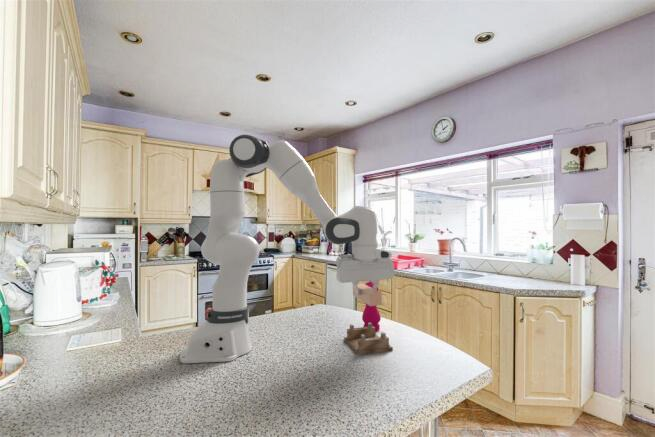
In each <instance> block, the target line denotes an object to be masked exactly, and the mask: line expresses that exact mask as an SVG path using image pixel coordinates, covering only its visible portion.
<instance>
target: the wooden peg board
mask: <svg viewBox="0 0 655 437" xmlns="http://www.w3.org/2000/svg"><path fill="white" fill-rule="evenodd" d="M386 334H387V333H385V332H384V331H382V332H380V336H379V335H377V334H376V331H375V327H373V326H372V323H371V322H370V323H368V327H364V326H362V327H355V325H354V324H349V328H346V336H345V337H343V341H344V342H345V343H346V344H347V345H348V346H349V348H351V349H352V351H353V352H354V353H355V354H356V355H357V356H362V355H370V354H376V353H377V354H378V353H383V352H384V353H386V352H392V351H393V350H394V348H393V347H392V346H391V345H390V338H389V337H388V336H387V335H386Z"/></svg>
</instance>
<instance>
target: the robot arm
mask: <svg viewBox="0 0 655 437" xmlns="http://www.w3.org/2000/svg"><path fill="white" fill-rule="evenodd" d="M228 152H229V156H230V157H229V158H227V159H220V160H218V161H215V163H213V165H212V167H211V173H210V180H209V181H210V182H209V199H210V200H209V201H210V202H209V204H210V206H209V207H210V209H209V210H210V212H209V214H210V216H209V224H208V228H207V232H206V237H205V238H204V241H203V242H202V244H201V248H200V252H201V255H202V257H203V258H204V259H205V260H206V261H208V262H209V263H211V264H213V265H217V266H219V270H218V275H217V278H216V279H215V281H214V282H213V283H212V284H213V285H212V286H211V287H212V298H211V299H212V307H207V309H205V319H206V320H205V321H204V322H203V323H202V324H201V325H200V326H198V327H197V328H196V329H195V330H194V331H193V332H192V333H191V334H190V336H189V338H188V341H187V346H186V347H184V348H183V349H182V350H181V352H179V362H180V363H182V364H198V363H199V364H200V363H201V364H202V363H220V362H222V363H223V362H232V361H234V360H235V359H238V357H241V356H244V355H245V354H247V353H249V352H251V351H252V349H253V344H252V341H251V337H250V330H249V320H250V318H249V316H250V314H249V312H250V311H249V305H248V304H247V303H248V296H247V295H248V280H249V276H250V272H251V269H252V266H253V265H254V264H255V263H256V262H257V260H258V259H259V257H260V250H261V249H260V246H259V242H258V241H257V240H256V239H255V238H254V237H252V236H250V235H247V234H244V233H239V227H240V224H241V222H242V220H243V219H244V217H245V214H246V213H245V212H246V211H245V210H246V209H245V179H246V178H250V177H252V176H254V175H255V176H256V175H258V174H261V173H263V172H264V171H265V170H266V169H269V170H271V172H272V173H274V175H275V176H276V177H277V178H278V180H279V182H281V184H282V185H283V186H284V187H285V188H286V190H288V191H289V192H290V193H291V194H292V195H293V196H294V197H296V198H297V199H299V200H300V201H301V202H302V203H304V204H305V205H306V206H307V208H309V210H310V211H311V212H312V214H313V215H314V216H315V218H316V219H317V221H318V222H319V223H320V226H321V228H322V234H323V236H324V238H325V239H326V241H327V242H329V243H331V244H334V245H337V246H342V245H346V244H348V243H351V253H350V254H340V255H339V256H338V257H336V259H335V260H336V261H335V263H336V264H335V266H336V268H337V269H336V280H337V282H338V283H340V284H343V283H351V284H352V287H353V286H354V287H355V289H356V294H357V295H361V294H362V293H361V292H362V290H361V289H359V288H358V286H357V285H358V284H359V282H368V281H372V280H373V283H374V285H373V289H375V290H376V288H377V287H378V288H379V284H380V281H382V280H384V281H385V280H392V279H394V277H395V265H394V261H393V260H392V259H391V258H392V255H393V254H392V252H391V251H388V250H385V249H382V248H379V246H378V243H379V242H378V240H377V235H378V222H377V221H378V220H377V214H376V212H375V210H374V209H372V208H371V207H368V206H362V205H355V206H353V207H352V208H351V209H349V210H348V211H346V212H344V213H342V214H340V215H337V214H336V213H335V212H334V211H333V210H332V209H331V207H330V206H329V204H328V203H327V202H326V200H325V199H324V198H323V196H322V194H321V193H320V190H319V187H318V183H317V179H316V176H315V174H314V172H313V171H312V168H311V166H310V165H309V164H308V162H307V161H306V159H304V157H303V156H302V155H301V154H300V152H299V151H298V150H296V148H295V147H293V145H291V143H289V142H288V141H286V140H285V139H284V140H282V139H281V140H277V141H274V142H272V143H271V144H268V142H267V141H265V140H262V139H260V138H259V137H256V136H253V135H251V134H250V135H249V134H240V135H238V136H235V137H234V139H232V141H231V143H230V144H229V151H228Z"/></svg>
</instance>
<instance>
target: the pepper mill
mask: <svg viewBox="0 0 655 437" xmlns="http://www.w3.org/2000/svg"><path fill="white" fill-rule="evenodd" d="M364 284H365V285H367V286H369V287H371V288H373V285H374V282H373V280H372V281H366V283H364ZM376 290H377V291H379V286H378V287H377V288H376ZM377 306H378V305H376V306H369V305H368V304H366V303H365V307H364V310H363V312H362V316H361V320H362V322H363V323H364V324H363V327H368V323H370V322H371V323H372V326H373V327H375V332H378V331H380V327H381V326H380V322H381V314H380V311H379V309H378V307H377Z"/></svg>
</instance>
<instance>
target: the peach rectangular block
mask: <svg viewBox="0 0 655 437" xmlns="http://www.w3.org/2000/svg"><path fill="white" fill-rule="evenodd" d="M357 286H358V288H359V289H361V290H362V292H361V293H362V294H361V295H357V294H356V289H355V287H354V286H353V285H352V296H353V297H354V298H356V299H358V300H360V301H361V302H363V303H365V305H366V304H368V305H369V306H382V304H383V303H382V301H383V299H382V292H381V291H379V290H378V291H377V290H375V289H373V288H371V287H369V286H367V285H365V283H358V285H357Z"/></svg>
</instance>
